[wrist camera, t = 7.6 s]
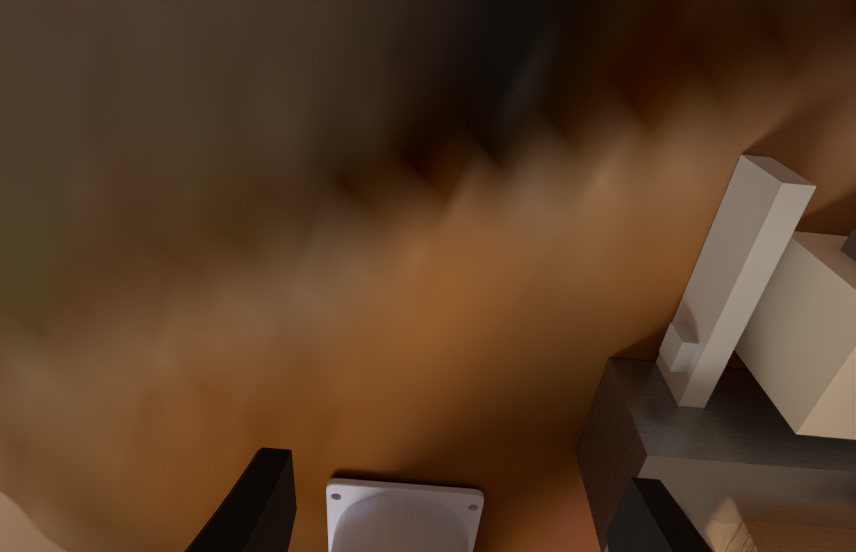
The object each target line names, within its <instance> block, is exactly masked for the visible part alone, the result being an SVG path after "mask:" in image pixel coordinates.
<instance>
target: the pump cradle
mask: <svg viewBox="0 0 856 552" xmlns="http://www.w3.org/2000/svg"><path fill="white" fill-rule="evenodd" d="M815 188H816V185H814V184H813V183H811V182H809V181H808V180H806V179H805V178H803V177H802V176H800V175H798V174H797V173H795V172H794V171H792V170H790V169H789V168H787V167H786V166H784V165H782V164H781V163H779V162H778V161H776V160H775V159H773V158H771V157H763V156H751V155H741V156H740V158H739V161H738V163H737V165H736V168H735V170H734V173H733V175H732V178H731V180H730V183H729V185H728V187H727V190H726V192H725V195H724V197H723V200H722V202H721V204H720V207H719V209H718V212H717V214H716V217H715V219H714V221H713V224H712V226H711V229H710V231H709V234H708V236H707V239H706V241H705V243H704V246H703V248H702V251H701V253H700V256H699V258H698V260H697V263H696V265H695V268H694V270H693V273H692V275H691V278H690V280H689V282H688V285H687V287H686V290H685V292H684V295H683V297H682V299H681V302H680V304H679V307H678V309H677V312H676V314H675V317H674V319H673V321H672V322H670V325H669V327H668V330H667V332H666V334H665V337H664V339H663V342H662V344H661V347H660V349H659V352H660V353H659V355H658V358H657V360H656V363H657V365H658V367H659V369H660V371H661V373H662V375H663V377H664V379H665V381H666V383H667V385H668V387H669V389H670V391H671V393H672V394H673V396H674V398H675V400H676V402H677V404H678V406H687V407H699V408H704V407H705V406H706V404H707V402H708V400H709V398H710V396H711V394H712V392H713V390H714V388H715V386H716V384H717V382H718V380H719V378H720V376H721V374H722V372H723V370H724V368H725V366H726V364H727V362H728V360H729V358H730V356H731V354H732V352H733V350H734V348H735V346H736V344H737V342H738V340H739V338H740V336H741V334H742V332H743V331H744V329H745V327H746V325H747V323H748V321H749V319H750V317H751V315H752V313H753V311H754V309H755V307H756V305H757V303H758V301H759V299H760V297H761V295H762V293H763V291H764V289H765V287H766V285H767V283H768V281H769V279H770V277H771V275H772V273H773V271H774V269H775V267H776V265H777V263H778V261H779V259H780V257H781V256H782V254H783V252H784V250H785V248H786V246H787V244H788V242H789V240H790V238H791V236H792V234H793V232H794V230H795V228H796V226H797V224H798V222H799V220H800V218H801V216H802V214H803V212H804V210H805V208H806V206H807V204H808V202H809V200H810V198H811V196H812V194H813V192H814V190H815Z"/></svg>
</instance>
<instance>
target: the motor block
mask: <svg viewBox="0 0 856 552" xmlns="http://www.w3.org/2000/svg"><path fill="white" fill-rule="evenodd" d="M576 455H577V459H578V463H579V467H580V471H581V475H582V479H583V483H584V486H585V490H586V494H587V498H588V502H589V506H590V510H591V514H592V518H593V522H594V526H595V529H596V533H597V537H598V541H599V545H600V549H601V552H609V551H608V545H607V539H606V532H607V530H608V527H609V525H610V523H611V521H612V518H613V516H614V514H615V512H616V510H617V507H618V505H619V503H620V501H621V498H622V496H623V494H624V492H625V489H626V487H627V485H628V483H629V480H630V478H631V477H636V478H649V479H660V481H661V482H662V483H663V484H664V486H665V487H666V488H667V490H668V491H669V492H670V494H671V495H672V497H673V498H674V499H675V501H676V502H677V503H678V505H679V506H680V507H681V509H682V510H683V512H684V513H685V514H686V516H687V517H688V518H689V520H690V521H691V522H692V524H693V525H694V526H695V528H696V529H697V531H698V532H699V533H700V535H701V536H702V537H703V539H704V540H705V541H706V543H707V544H708V545H709V547H710V548H711V549H712V551H713V552H856V440H854V439H843V438H832V437H821V436H810V435H799V434H795V432H794V431H793V430H792V428H791V427H790V425H789V424H788V423H787V421H786V420H785V419H784V417H783V416H782V414H781V413H780V412H779V410H778V409H777V408H776V406H775V405H774V403H773V402H772V401H771V399H770V398H769V397H768V395H767V394H766V392H765V391H764V390H763V388H762V387H761V386H760V384H759V383H758V381H757V380H756V379H755V377H754V376H753V375H752V373H751V372H750V370H747V369H735V368H724V370H723V372H722V374H721V376H720V378H719V380H718V382H717V384H716V386H715V388H714V390H713V392H712V394H711V396H710V398H709V400H708V402H707V404H706V406H705V407H704V408H699V407H687V406H678V404H677V402H676V400H675V398H674V396H673V394H672V393H671V391H670V389H669V387H668V385H667V383H666V381H665V379H664V377H663V375H662V373H661V371H660V369H659V367H658V365H657V363H656V362H652V361H640V360H628V359H616V358H609V359H608V362H607V364H606V367H605V370H604V373H603V376H602V379H601V382H600V385H599V388H598V391H597V393H596V396H595V399H594V402H593V405H592V408H591V411H590V414H589V417H588V419H587V422H586V425H585V428H584V431H583V434H582V437H581V440H580V443H579V446H578V448H577V451H576Z"/></svg>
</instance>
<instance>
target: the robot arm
mask: <svg viewBox="0 0 856 552" xmlns="http://www.w3.org/2000/svg"><path fill="white" fill-rule="evenodd" d="M326 495H327V521H328V547H329V552H473V549H474V544H475V540H476V535H477V531H478V526H479V522H480V517H481V513H482V508H483V504H484V495H483V493H482V492H481V491H480V490H477V489H468V488H456V487H443V486H430V485H418V484H405V483H393V482H380V481H368V480H355V479H342V478H333V479H330V480H329V481H328V484H327V488H326ZM296 510H297V507H296V496H295V485H294V473H293V462H292V451H291V450H287V449H275V448H261V449H260V450H258V451H257V453H256V454H255V456H254V457H253V459H252V460H251V462H250V463H249V465H248V466H247V468H246V469H245V471H244V472H243V474H242V475H241V477H240V478H239V480H238V481H237V483H236V484H235V486H234V487H233V488H232V490H231V491H230V493H229V494H228V495H227V497H226V498H225V500H224V501H223V502H222V504H221V505H220V506H219V508H218V509H217V510H216V512H215V513H214V514H213V516H212V517H211V518H210V520H209V521H208V522H207V523H206V525H205V526H204V527H203V529H202V530H201V531H200V533H199V534H198V535H197V536H196V538H195V539H194V540H193V542H192V543H191V544H190V545H189V547H188V548H187V549H186V550H185V552H288V548H289V543H290V539H291V534H292V529H293V525H294V520H295V515H296ZM606 539H607V545H608V551H609V552H713V551H712V549H711V548H710V547H709V545H708V544H707V543H706V541H705V540H704V539H703V537H702V536H701V535H700V533H699V532H698V531H697V529H696V528H695V526H694V525H693V524H692V522H691V521H690V520H689V518H688V517H687V516H686V514H685V513H684V512H683V510H682V509H681V507H680V506H679V505H678V503H677V502H676V501H675V499H674V498H673V497H672V495H671V494H670V492H669V491H668V490H667V488H666V487H665V486H664V484H663V483H662V482H661V481H660V479H649V478H636V477H631V478H630V480H629V483H628V485H627V487H626V489H625V492H624V494H623V496H622V498H621V501H620V503H619V505H618V507H617V510H616V512H615V514H614V516H613V518H612V521H611V523H610V525H609V527H608V530H607V532H606Z"/></svg>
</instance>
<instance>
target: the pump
mask: <svg viewBox="0 0 856 552" xmlns="http://www.w3.org/2000/svg"><path fill="white" fill-rule="evenodd" d="M734 350H735V351H736V353H737V354H738V355H739V357H740V358H741V359H742V361H743V362H744V364H745V365H746V366H747V368H748V369H749V370H750V372H751V373H752V375H753V376H754V377H755V379H756V380H757V381H758V383H759V384H760V386H761V387H762V388H763V390H764V391H765V392H766V394H767V395H768V397H769V398H770V399H771V401H772V402H773V403H774V405H775V406H776V408H777V409H778V410H779V412H780V413H781V414H782V416H783V417H784V419H785V420H786V421H787V423H788V424H789V425H790V427H791V428H792V430H793V431H794V432H795V434H799V435H810V436H821V437H832V438H843V439H854V440H856V229H852V231H851V232H850V234H849V236H848V237H847V236H838V235H828V234H818V233H808V232H798V231H794V232H793V234H792V236H791V238H790V240H789V242H788V244H787V246H786V248H785V250H784V252H783V254H782V256H781V257H780V259H779V261H778V263H777V265H776V267H775V269H774V271H773V273H772V275H771V277H770V279H769V281H768V283H767V285H766V287H765V289H764V291H763V293H762V295H761V297H760V299H759V301H758V303H757V305H756V307H755V309H754V311H753V313H752V315H751V317H750V319H749V321H748V323H747V325H746V327H745V329H744V331H743V332H742V334H741V336H740V338H739V340H738V342H737V344H736V346H735V348H734Z"/></svg>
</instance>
